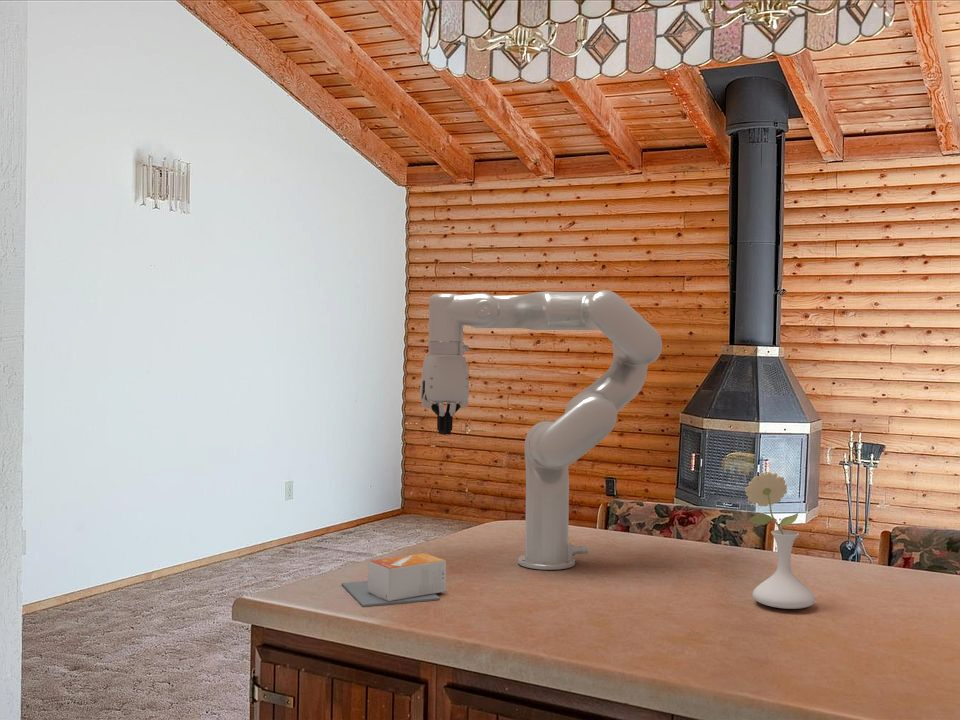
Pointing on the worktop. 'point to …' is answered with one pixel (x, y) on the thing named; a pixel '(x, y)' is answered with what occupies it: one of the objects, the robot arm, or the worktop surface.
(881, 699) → the worktop surface
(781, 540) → the flower in vase
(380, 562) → the small box
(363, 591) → the mat
